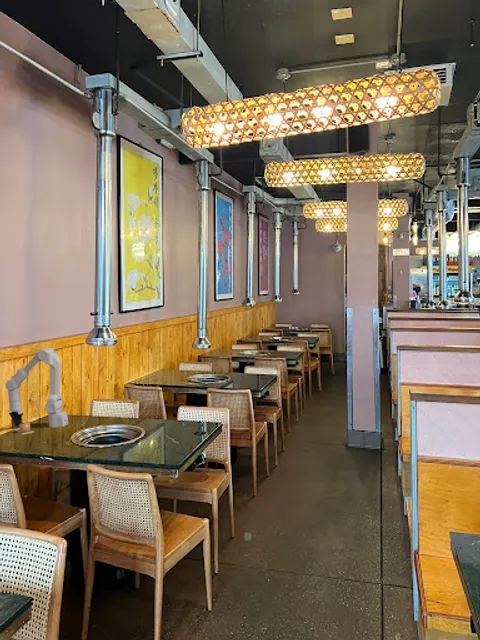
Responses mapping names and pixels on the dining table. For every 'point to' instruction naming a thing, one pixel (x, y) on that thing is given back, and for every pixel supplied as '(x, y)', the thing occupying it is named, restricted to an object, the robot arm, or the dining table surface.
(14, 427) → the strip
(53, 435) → the dining table surface
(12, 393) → the robot arm
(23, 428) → the tan round lump
